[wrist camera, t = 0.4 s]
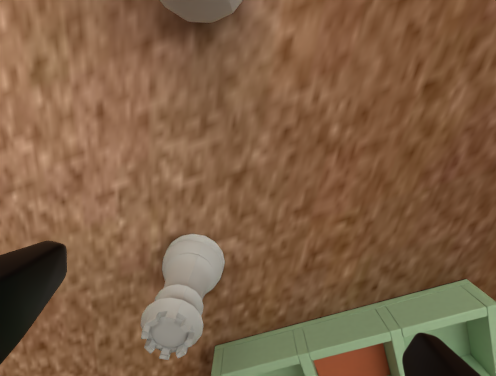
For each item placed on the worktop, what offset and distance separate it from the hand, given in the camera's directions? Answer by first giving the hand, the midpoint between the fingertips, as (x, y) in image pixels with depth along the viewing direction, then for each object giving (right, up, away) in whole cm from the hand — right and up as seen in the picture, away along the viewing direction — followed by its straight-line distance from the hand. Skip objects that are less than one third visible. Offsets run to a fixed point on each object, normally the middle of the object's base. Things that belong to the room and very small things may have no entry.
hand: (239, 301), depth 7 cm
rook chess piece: (-4, -2, +15) cm, 15 cm away
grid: (+9, -14, +18) cm, 24 cm away
